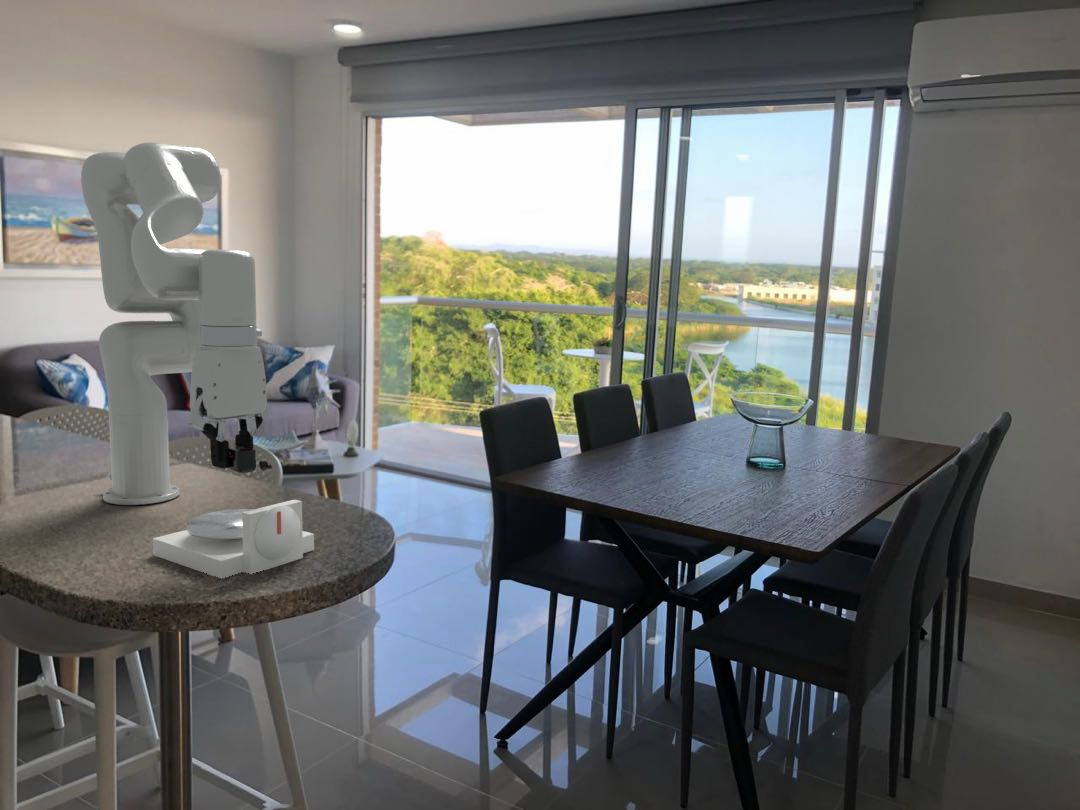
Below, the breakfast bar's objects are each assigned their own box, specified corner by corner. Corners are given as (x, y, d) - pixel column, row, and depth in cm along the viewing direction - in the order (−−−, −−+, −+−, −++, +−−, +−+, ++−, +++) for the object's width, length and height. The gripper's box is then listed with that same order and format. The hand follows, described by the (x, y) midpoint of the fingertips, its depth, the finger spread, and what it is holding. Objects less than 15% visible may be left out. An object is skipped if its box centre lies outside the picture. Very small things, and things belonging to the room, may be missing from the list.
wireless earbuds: (241, 475, 122) (241, 452, 122) (218, 466, 127) (218, 444, 127) (272, 471, 125) (272, 449, 125) (248, 463, 130) (248, 441, 130)
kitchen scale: (153, 555, 127) (150, 496, 126) (246, 530, 140) (244, 476, 139) (231, 582, 117) (230, 518, 115) (324, 552, 130) (323, 495, 128)
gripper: (260, 334, 133) (263, 452, 136) (160, 339, 120) (165, 470, 122) (293, 337, 129) (295, 459, 132) (193, 342, 115) (197, 478, 118)
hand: (232, 463), depth 127 cm, fingers closed on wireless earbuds, 3 cm apart
